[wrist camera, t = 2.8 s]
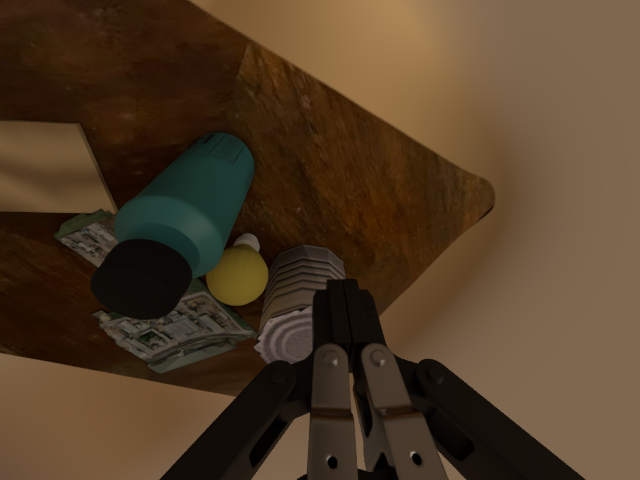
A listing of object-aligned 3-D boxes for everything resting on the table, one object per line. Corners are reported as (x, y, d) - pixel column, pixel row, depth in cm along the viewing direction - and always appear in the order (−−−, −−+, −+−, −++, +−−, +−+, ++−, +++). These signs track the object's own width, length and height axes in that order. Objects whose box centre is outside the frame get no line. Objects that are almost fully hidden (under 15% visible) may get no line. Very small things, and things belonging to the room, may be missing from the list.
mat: (-76, 115, 25) (-84, 117, 25) (79, 122, 26) (75, 124, 26) (-7, 208, 31) (-12, 211, 30) (118, 211, 32) (116, 213, 31)
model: (111, 196, 30) (102, 203, 29) (257, 333, 47) (256, 341, 46) (-9, 262, 35) (-21, 271, 33) (163, 365, 51) (160, 373, 50)
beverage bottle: (225, 111, 26) (95, 212, 10) (272, 164, 29) (230, 304, 13) (183, 152, 28) (19, 290, 12) (231, 196, 31) (152, 353, 15)
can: (253, 260, 37) (235, 334, 27) (328, 232, 35) (337, 302, 25) (290, 308, 43) (286, 383, 34) (355, 287, 41) (371, 360, 31)
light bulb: (284, 242, 36) (278, 299, 28) (250, 267, 38) (235, 326, 30) (246, 209, 32) (226, 262, 24) (211, 238, 35) (183, 295, 27)
